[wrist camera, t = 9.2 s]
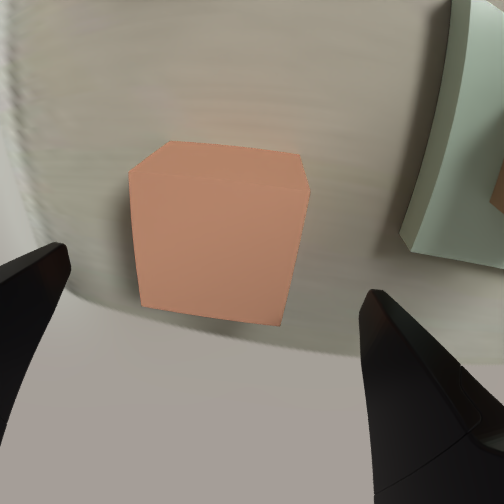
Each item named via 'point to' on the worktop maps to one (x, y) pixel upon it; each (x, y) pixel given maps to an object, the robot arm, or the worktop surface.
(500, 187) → the walnut brick
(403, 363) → the robot arm
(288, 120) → the worktop surface
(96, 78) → the worktop surface
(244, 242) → the terracotta brick
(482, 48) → the base plate
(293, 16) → the worktop surface
